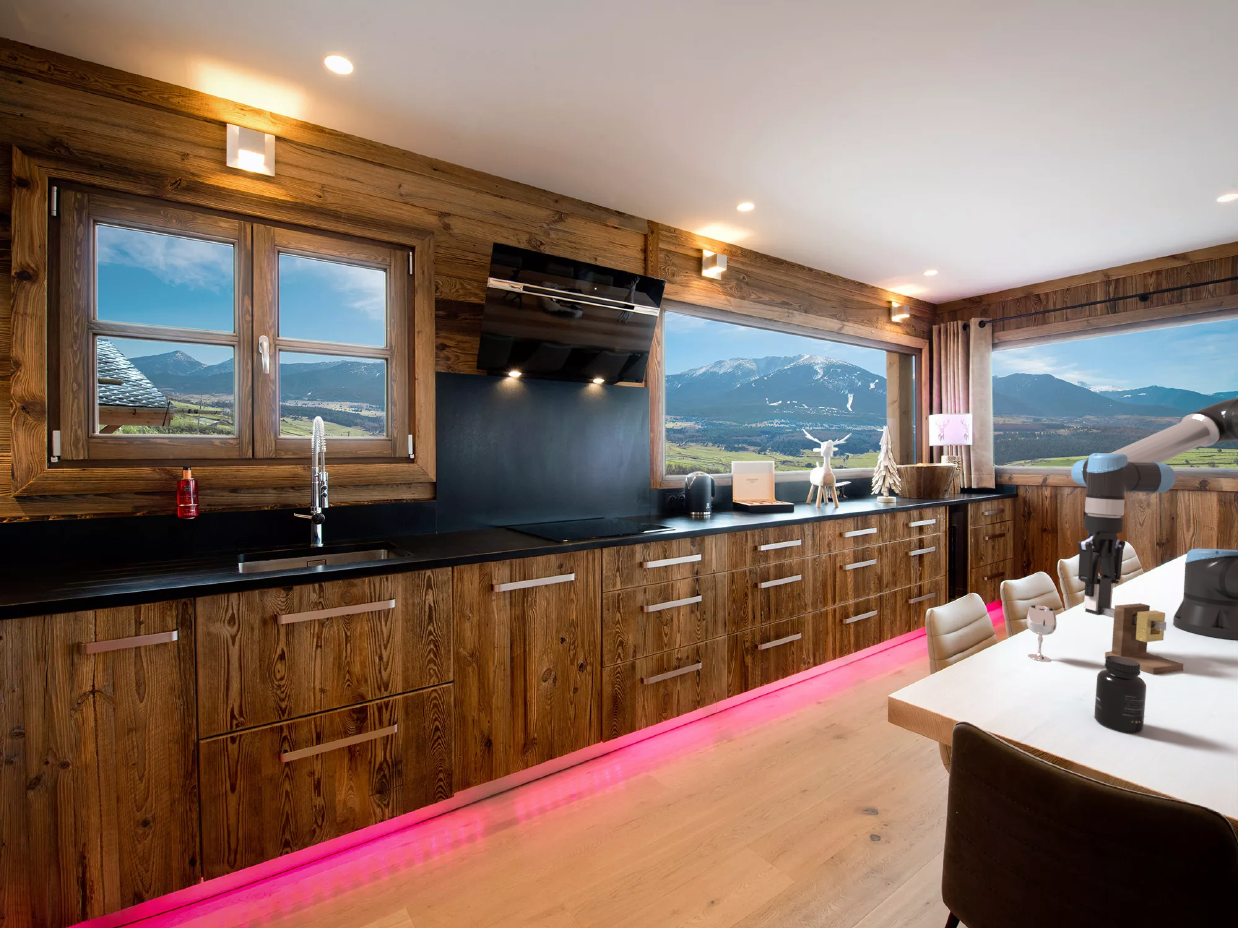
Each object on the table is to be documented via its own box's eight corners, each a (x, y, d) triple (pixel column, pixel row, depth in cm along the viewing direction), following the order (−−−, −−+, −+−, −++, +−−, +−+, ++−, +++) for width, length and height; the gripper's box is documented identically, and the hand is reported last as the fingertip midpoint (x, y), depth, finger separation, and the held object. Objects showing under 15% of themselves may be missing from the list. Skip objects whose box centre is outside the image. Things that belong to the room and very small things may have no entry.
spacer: (1135, 639, 138) (1137, 611, 137) (1153, 637, 140) (1155, 610, 139) (1145, 642, 136) (1147, 614, 136) (1163, 640, 138) (1165, 612, 137)
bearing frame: (1104, 658, 142) (1108, 604, 141) (1133, 654, 145) (1137, 601, 145) (1153, 674, 133) (1157, 616, 132) (1183, 670, 136) (1187, 614, 135)
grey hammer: (1085, 611, 149) (1087, 576, 149) (1096, 610, 150) (1098, 575, 150) (1157, 631, 135) (1159, 592, 134) (1169, 630, 136) (1171, 591, 135)
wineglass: (1059, 663, 138) (1062, 612, 137) (1031, 661, 139) (1034, 610, 138) (1046, 654, 143) (1049, 605, 143) (1020, 652, 144) (1023, 603, 144)
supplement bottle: (1084, 716, 111) (1088, 653, 110) (1118, 716, 111) (1122, 653, 111) (1118, 734, 104) (1122, 667, 103) (1154, 734, 104) (1158, 667, 104)
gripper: (1111, 512, 154) (1105, 602, 155) (1063, 513, 148) (1057, 606, 149) (1144, 516, 146) (1137, 610, 147) (1095, 518, 141) (1089, 615, 142)
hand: (1097, 608), depth 148 cm, fingers closed on grey hammer, 4 cm apart
